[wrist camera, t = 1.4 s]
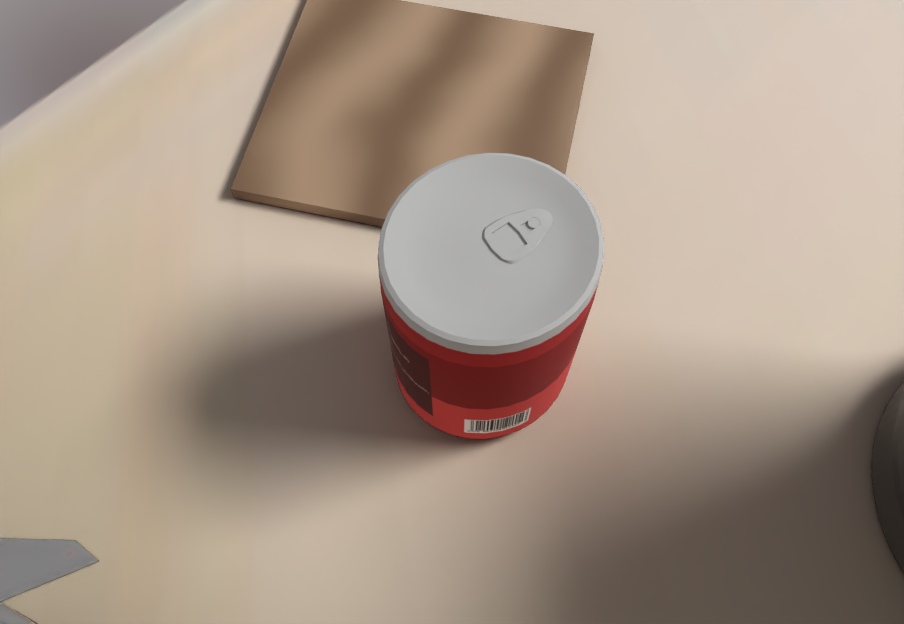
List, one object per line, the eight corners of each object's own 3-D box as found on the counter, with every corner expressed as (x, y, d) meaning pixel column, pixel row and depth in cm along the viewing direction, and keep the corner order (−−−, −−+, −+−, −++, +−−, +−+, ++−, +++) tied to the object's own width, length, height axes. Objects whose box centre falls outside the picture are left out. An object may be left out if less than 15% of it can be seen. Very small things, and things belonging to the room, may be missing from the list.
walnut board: (591, 44, 47) (594, 33, 46) (547, 259, 41) (549, 251, 41) (314, -4, 49) (312, -15, 48) (234, 197, 43) (230, 188, 42)
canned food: (599, 349, 39) (650, 225, 29) (493, 482, 37) (509, 395, 27) (470, 258, 41) (476, 113, 31) (361, 377, 39) (329, 260, 29)
